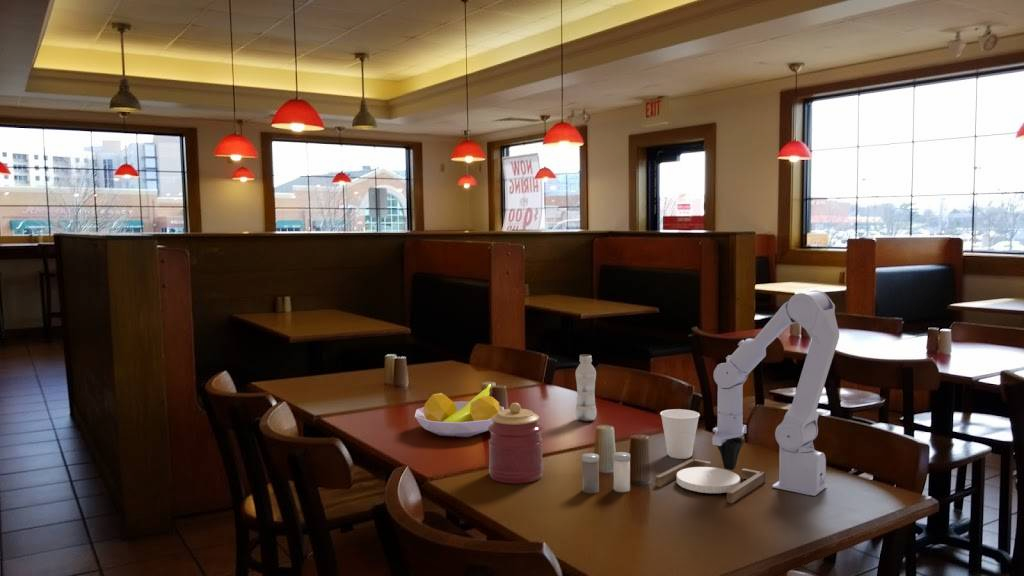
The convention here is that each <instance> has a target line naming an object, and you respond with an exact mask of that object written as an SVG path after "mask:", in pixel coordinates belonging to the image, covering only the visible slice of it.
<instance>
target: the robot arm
mask: <svg viewBox="0 0 1024 576" xmlns="http://www.w3.org/2000/svg"><path fill="white" fill-rule="evenodd" d="M835 309H836V305H835V303H833V301H832V299H831V298H830V297H829V295H828V294H826V293H825V292H824V291H821V290H811V291H807V292H804V293H803V292H800V293H799V292H798V293H796V294H794V295H792V296H791V297H790V298H789V300H788V301H786V302H784V303H783V304H782V305H781V306H780V308H779V309H778V310H777V312H775V313H774V315H773V316H772V317H771V318H770V320H769V321H768V322H767V323H766V324H765V325H764V326H763V328H762V329H761V330H760V331H759V333H757V334H756V336H755V337H754V338H746V339H745V340H744V339H742V340H740V341H739V342H738V344H737V346H738V347H737V348H736V349H735V351H733V353H732V354H731V355H730V354H729V355H727V356H726V357H725V359H726V362H721V363H718V364H717V365H716V367H715V368H714V370H713V380H714V382H715V384H716V385H717V424H716V425H717V427H713V428H712V432H713V433H715V434H714V435H713V436H712V441H711V442H712V445H713V446H716V447H717V449H718V451H719V453H720V456H721V461H722V464H723V469H725V470H728V471H734V470H735V469H736V466H737V461H738V458H739V454H740V451H741V449H742V447H743V445H744V444H745V439H744V438H742V436H744V434H747V425H746V424H743V419H744V418H743V417H744V415H743V411H744V409H743V408H744V407H743V405H744V403H743V401H744V398H743V397H744V395H743V393H744V391H743V389H744V388H743V386H744V384H745V382H746V381H747V380H748V378H749V377H748V376H749V374H750V373H751V372H752V371H753V370H754V369H755V368H756V367H757V365H759V364H760V362H761V361H763V360H764V358H765V357H766V356H767V348H768V346H769V345H771V344H772V343H773V342H774V341H775V339H777V338H778V337H779V336H780V335H781V334H782V333H783V332H784V331H786V329H787V328H788V327H790V326H791V325H794V324H798V325H799V326H801V327H802V328H803V329H804V330H805V331H806V332H807V335H808V336H809V338H810V339H811V341H810V344H809V348H808V351H807V354H806V356H805V360H804V363H803V367H802V370H801V373H800V377H799V381H798V383H797V387H796V390H795V393H794V396H793V400H792V403H791V406H790V407H789V408H788V410H787V411H786V412H785V415H784V416H783V420H782V422H781V423H780V424H778V425H777V427H776V428H775V431H774V432H775V433H774V436H775V440H776V442H777V444H778V445H779V462H778V464H779V466H778V469H779V471H778V475H779V476H778V477H779V478H778V479H779V480H778V481H776V482H775V483H774V484H772V485H771V486H772V488H773V489H779V490H784V491H789V492H793V493H798V494H803V495H808V496H813V497H815V496H817V495H818V494H819V493H821V491H823V490H824V489H826V488H827V484H826V478H827V476H826V475H827V473H826V472H827V470H826V469H827V468H826V467H827V459H826V454H825V453H824V452H822V451H819V450H816V449H815V446H814V443H813V441H814V440H815V439H816V438H817V437H818V433H819V427H818V418H819V413H818V411H817V409H818V406H819V403H820V399H821V396H822V393H823V390H824V387H825V384H826V381H827V377H828V374H829V371H830V368H831V365H832V361H833V358H834V356H835V351H836V348H837V345H838V342H839V339H840V331H839V326H838V322H837V319H836V314H835V312H836V311H835Z"/></svg>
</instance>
